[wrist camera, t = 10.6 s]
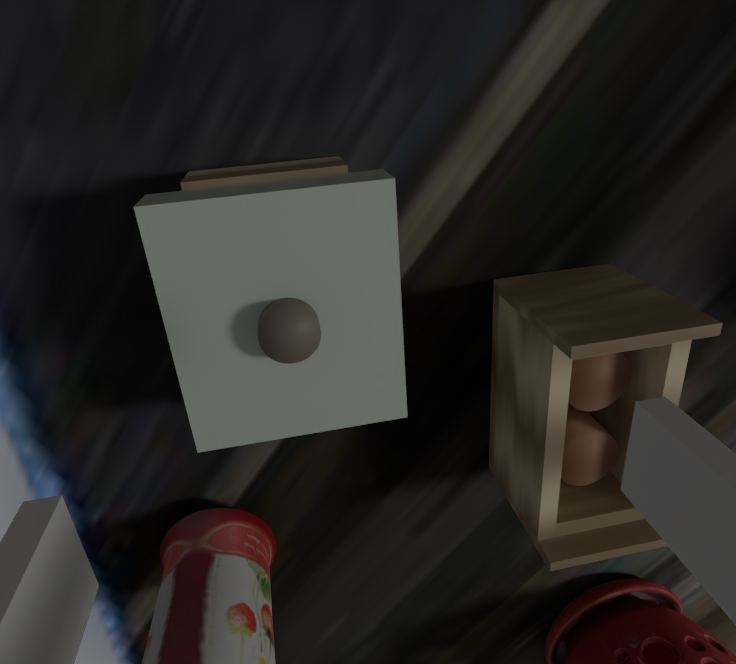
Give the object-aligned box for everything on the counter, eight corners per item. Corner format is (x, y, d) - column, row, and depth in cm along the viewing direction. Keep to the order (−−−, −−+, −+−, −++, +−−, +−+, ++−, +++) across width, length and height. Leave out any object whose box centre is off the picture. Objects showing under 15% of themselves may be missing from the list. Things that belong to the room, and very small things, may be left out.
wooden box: (493, 279, 30) (571, 346, 23) (610, 263, 31) (722, 323, 24) (488, 467, 36) (550, 571, 28) (587, 449, 37) (672, 545, 29)
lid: (145, 194, 23) (127, 213, 19) (382, 169, 24) (400, 182, 21) (202, 423, 27) (195, 466, 24) (396, 391, 29) (412, 428, 26)
